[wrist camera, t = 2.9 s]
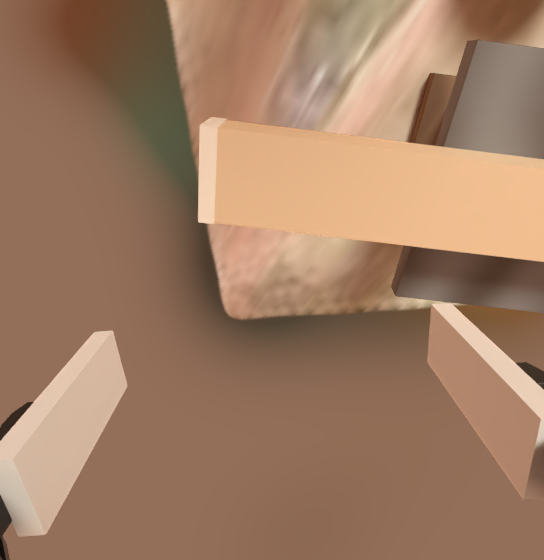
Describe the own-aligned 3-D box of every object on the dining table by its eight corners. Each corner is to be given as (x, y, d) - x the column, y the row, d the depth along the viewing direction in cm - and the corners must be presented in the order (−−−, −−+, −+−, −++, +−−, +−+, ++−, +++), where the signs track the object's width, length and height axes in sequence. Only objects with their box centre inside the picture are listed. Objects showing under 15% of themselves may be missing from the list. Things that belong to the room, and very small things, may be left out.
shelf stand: (340, 176, 50) (395, 296, 24) (364, 54, 44) (478, 39, 18) (517, 197, 51) (756, 337, 25) (568, 80, 44) (974, 105, 18)
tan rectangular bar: (209, 202, 22) (198, 222, 19) (211, 116, 20) (199, 125, 17) (780, 271, 23) (846, 299, 20) (846, 196, 20) (931, 216, 18)
